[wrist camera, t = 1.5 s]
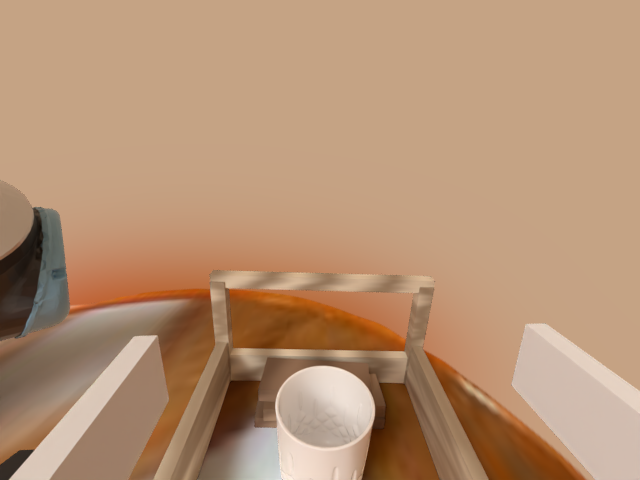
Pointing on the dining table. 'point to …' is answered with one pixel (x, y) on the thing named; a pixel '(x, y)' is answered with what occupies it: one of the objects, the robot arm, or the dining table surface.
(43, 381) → the dining table surface
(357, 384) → the white cup
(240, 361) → the frame
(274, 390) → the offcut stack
